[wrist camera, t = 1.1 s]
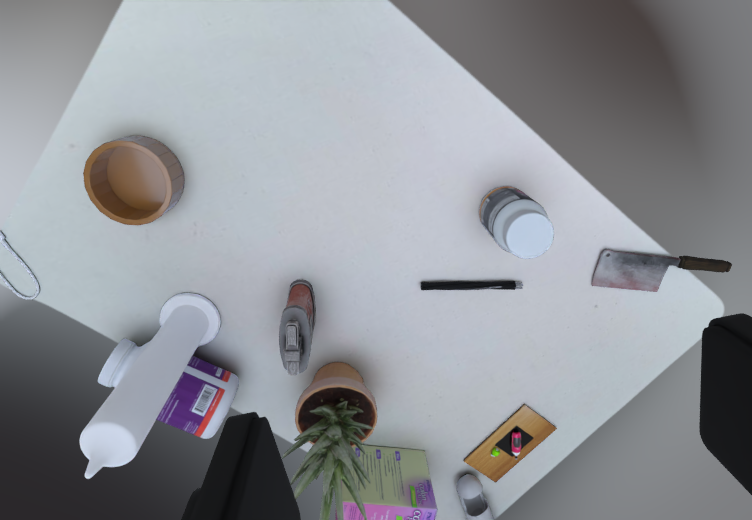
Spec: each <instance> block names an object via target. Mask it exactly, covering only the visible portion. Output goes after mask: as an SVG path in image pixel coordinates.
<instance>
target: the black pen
mask: <svg viewBox="0 0 752 520" xmlns="http://www.w3.org/2000/svg"><path fill="white" fill-rule="evenodd" d="M516 286H523V284H522V282H515V281H502V282H436V283H427V282H421V290H479V289H512V290H515V289H522V287H516Z"/></svg>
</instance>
